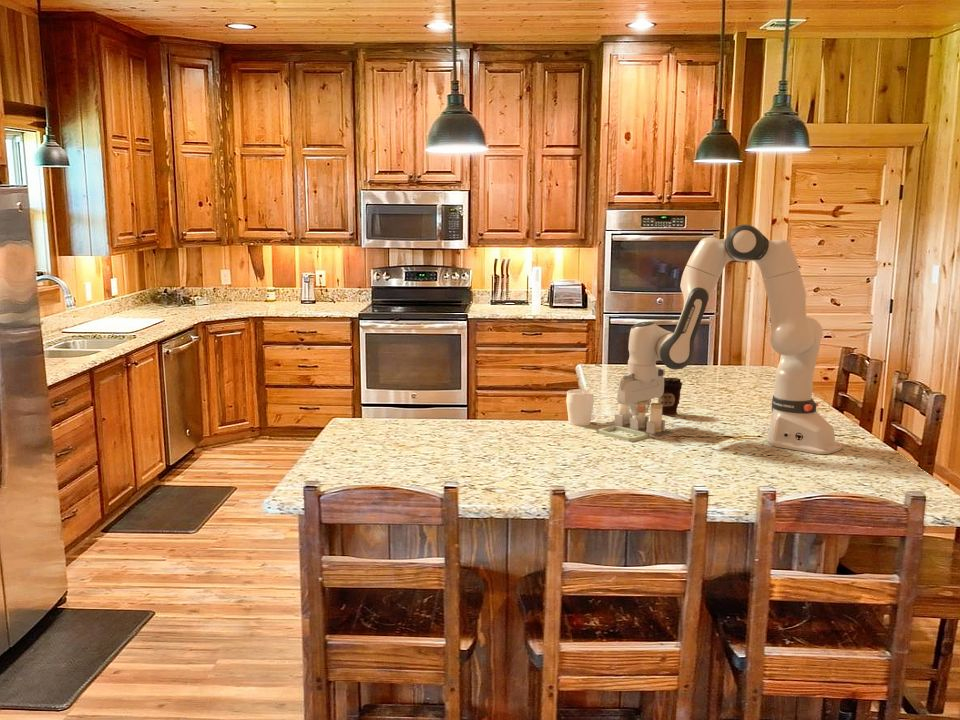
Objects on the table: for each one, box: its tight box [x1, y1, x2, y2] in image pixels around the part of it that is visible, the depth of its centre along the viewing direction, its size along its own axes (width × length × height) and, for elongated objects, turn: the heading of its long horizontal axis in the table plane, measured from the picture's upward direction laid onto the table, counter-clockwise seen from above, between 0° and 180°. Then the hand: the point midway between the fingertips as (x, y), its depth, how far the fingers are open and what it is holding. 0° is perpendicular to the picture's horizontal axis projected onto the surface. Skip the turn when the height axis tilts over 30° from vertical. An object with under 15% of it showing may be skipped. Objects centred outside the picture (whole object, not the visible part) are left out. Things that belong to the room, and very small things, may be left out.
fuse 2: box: [649, 402, 663, 433], centre depth 274 cm, size 4×4×9 cm
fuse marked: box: [633, 400, 646, 429], centre depth 279 cm, size 4×4×9 cm
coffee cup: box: [657, 377, 683, 417], centre depth 303 cm, size 9×8×13 cm
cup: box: [565, 388, 595, 427], centre depth 285 cm, size 9×9×12 cm
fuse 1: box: [617, 403, 631, 425], centre depth 284 cm, size 4×4×9 cm
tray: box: [596, 425, 650, 443], centre depth 271 cm, size 14×9×2 cm, turn 42°
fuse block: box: [605, 411, 675, 438], centre depth 280 cm, size 22×8×5 cm, turn 42°
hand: (639, 414), depth 279 cm, fingers closed on fuse marked, 4 cm apart
